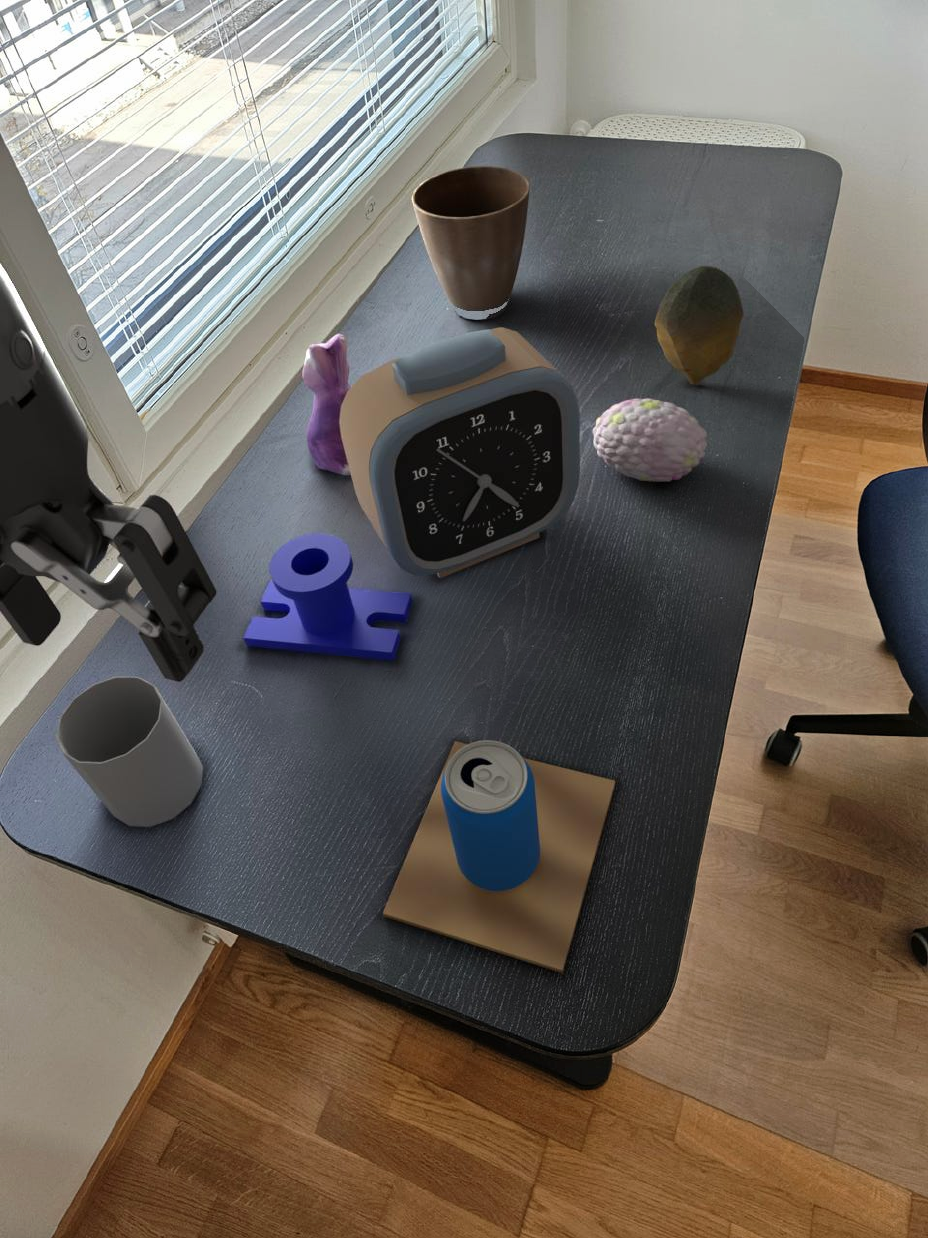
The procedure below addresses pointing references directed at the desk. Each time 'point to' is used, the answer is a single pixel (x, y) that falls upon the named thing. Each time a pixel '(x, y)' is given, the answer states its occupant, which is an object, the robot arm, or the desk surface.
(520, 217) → the flower pot
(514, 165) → the desk surface
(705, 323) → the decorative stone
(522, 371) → the alarm clock
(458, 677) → the desk surface
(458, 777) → the beverage can
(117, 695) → the cup
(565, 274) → the desk surface
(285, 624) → the mount
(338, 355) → the figurine
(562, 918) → the cork mat
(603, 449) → the decorative item
